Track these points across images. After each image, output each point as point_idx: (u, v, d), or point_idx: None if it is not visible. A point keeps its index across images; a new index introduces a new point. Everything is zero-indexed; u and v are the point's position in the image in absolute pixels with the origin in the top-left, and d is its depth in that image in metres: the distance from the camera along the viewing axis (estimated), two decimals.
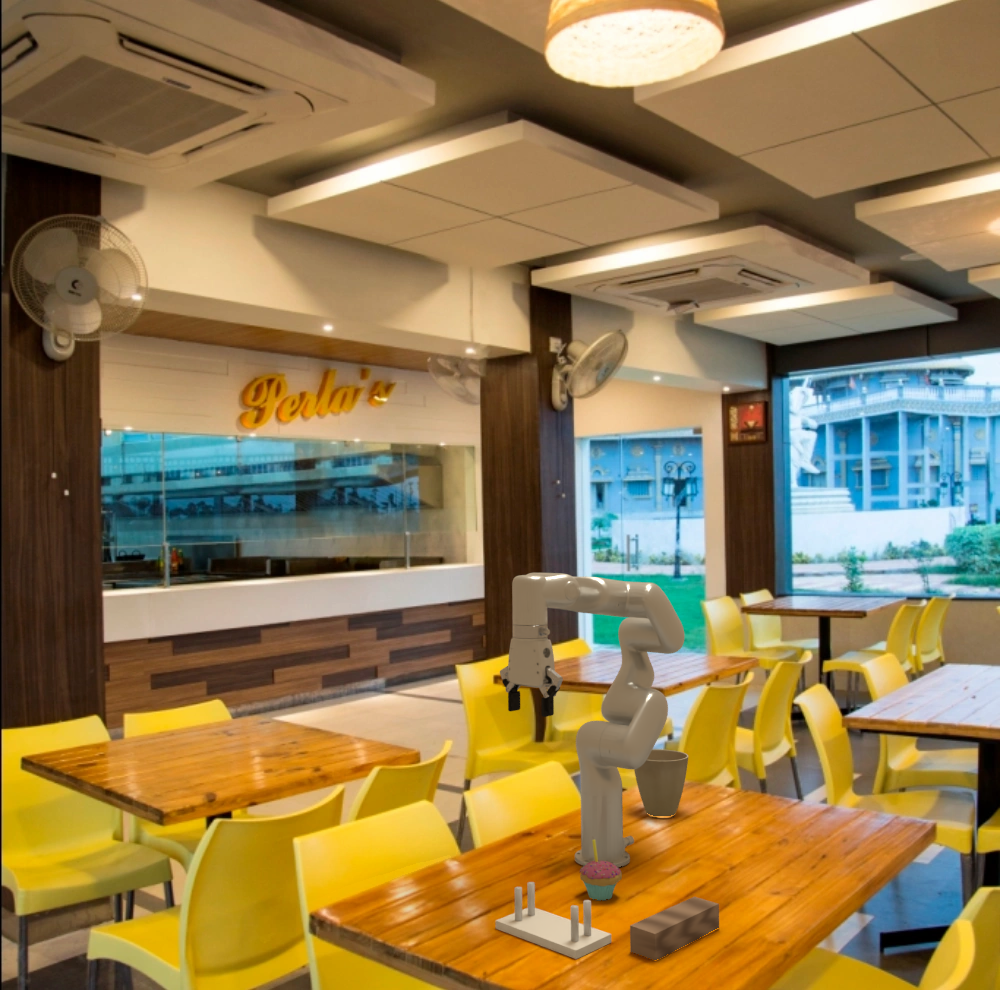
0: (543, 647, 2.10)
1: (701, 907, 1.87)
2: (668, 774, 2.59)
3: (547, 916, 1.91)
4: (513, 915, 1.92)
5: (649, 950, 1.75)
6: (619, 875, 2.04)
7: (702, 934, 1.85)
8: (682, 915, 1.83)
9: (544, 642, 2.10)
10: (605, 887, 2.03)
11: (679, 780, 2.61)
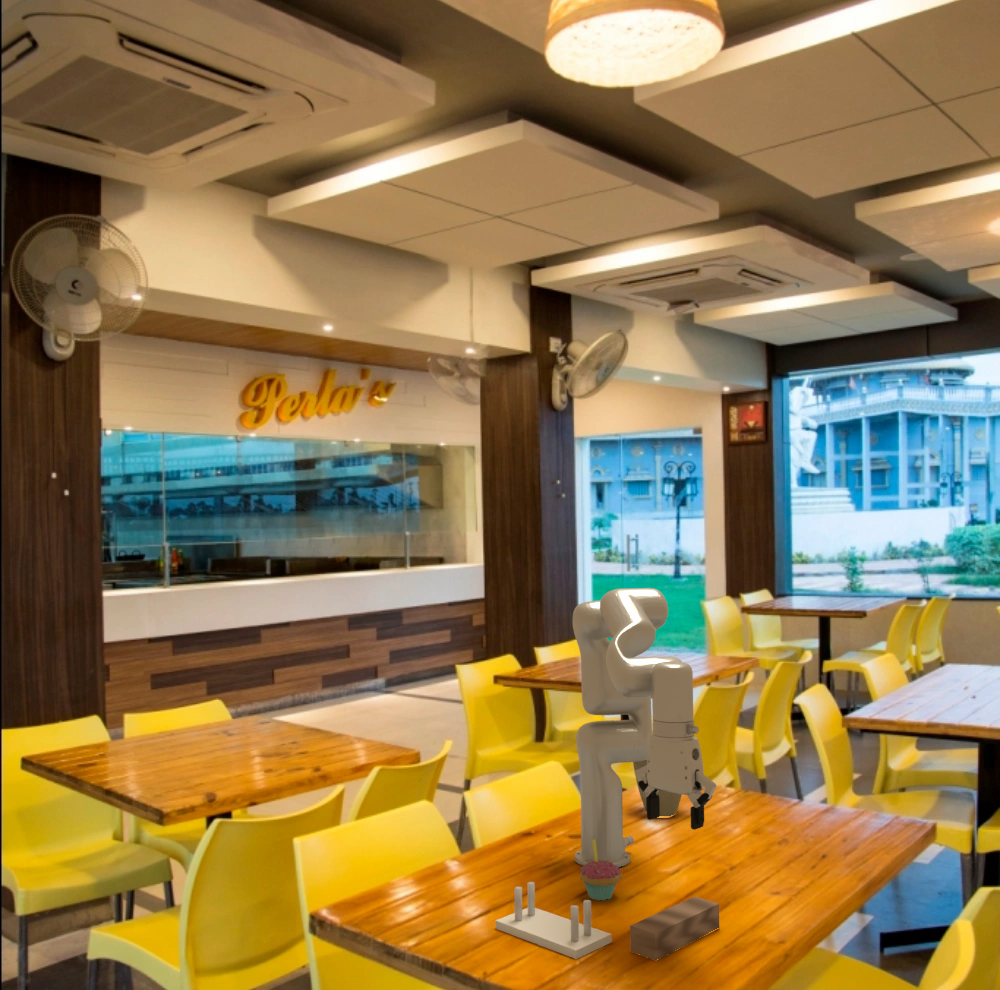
0: (691, 748, 1.81)
1: (701, 906, 1.87)
2: None
3: (547, 916, 1.91)
4: (513, 915, 1.92)
5: (649, 950, 1.76)
6: (619, 875, 2.04)
7: (702, 934, 1.85)
8: (682, 915, 1.83)
9: (692, 742, 1.82)
10: (605, 887, 2.03)
11: None
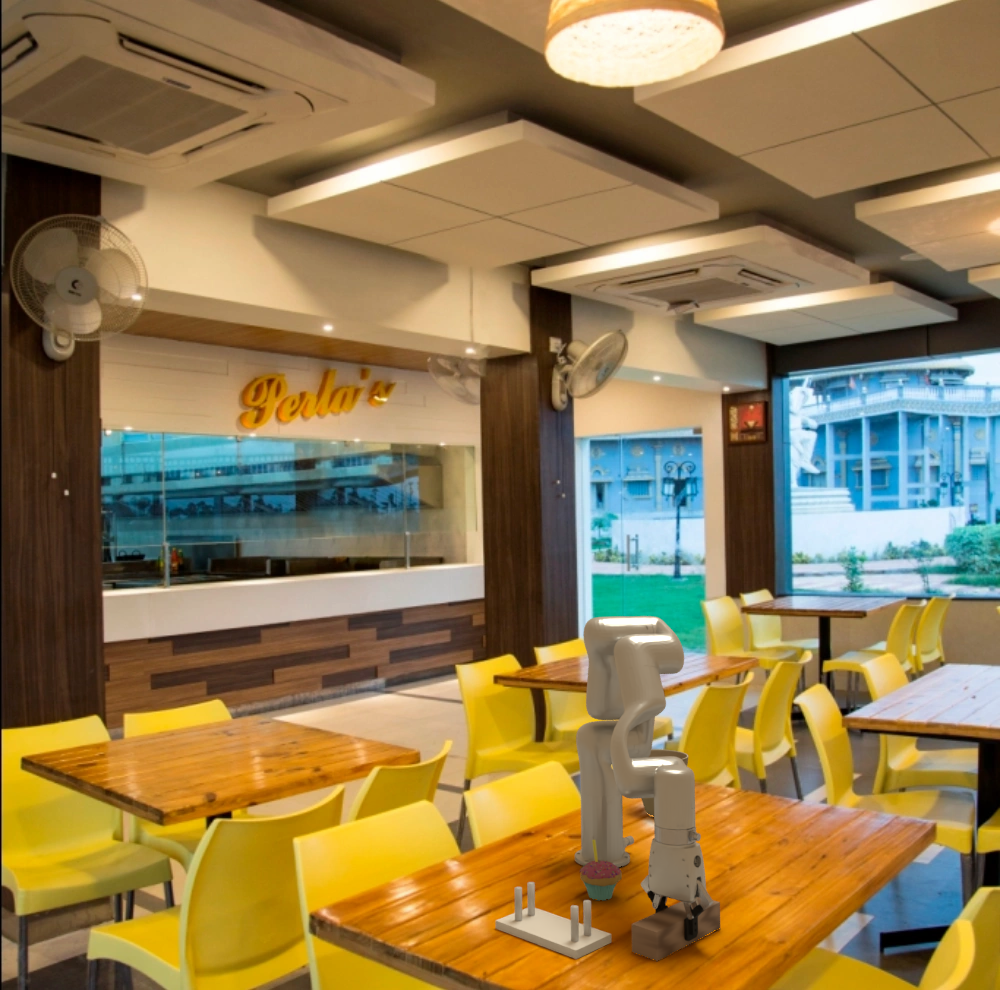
0: (693, 855, 1.80)
1: None
2: None
3: (547, 916, 1.91)
4: (513, 915, 1.92)
5: (651, 948, 1.75)
6: (619, 875, 2.04)
7: (703, 932, 1.85)
8: (683, 914, 1.83)
9: (694, 849, 1.81)
10: (605, 887, 2.03)
11: None
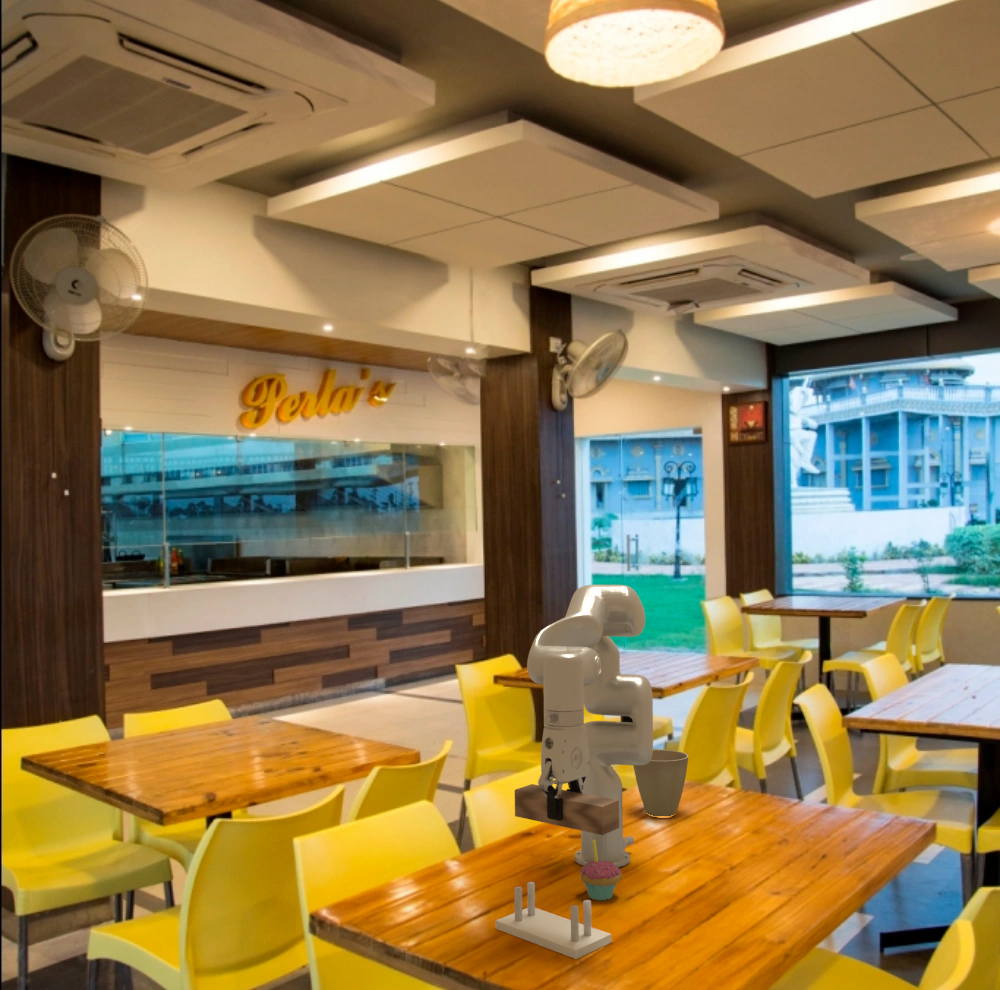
0: (546, 736, 1.84)
1: (589, 801, 1.82)
2: (668, 774, 2.59)
3: (547, 916, 1.91)
4: (513, 915, 1.92)
5: None
6: (619, 875, 2.04)
7: (577, 824, 1.82)
8: (562, 796, 1.86)
9: (548, 730, 1.84)
10: (605, 887, 2.03)
11: (679, 780, 2.61)
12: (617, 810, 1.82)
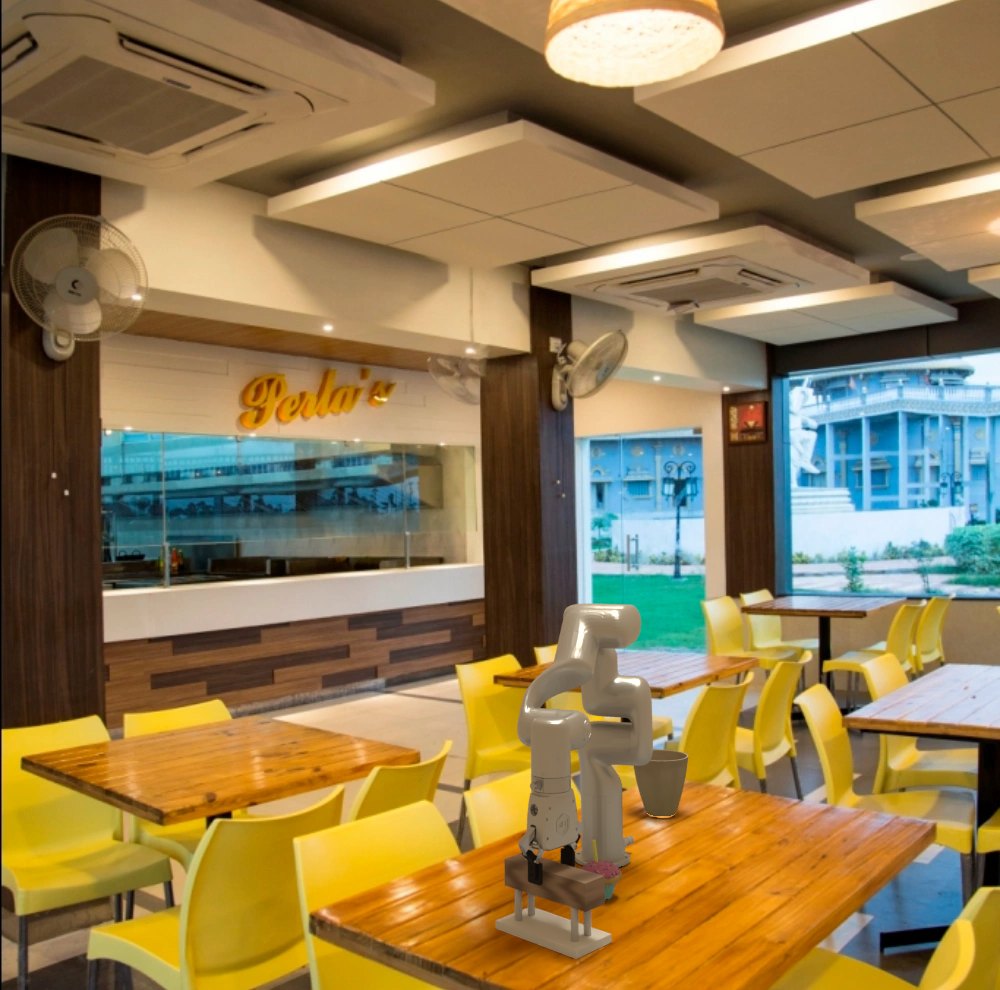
0: (531, 802, 1.84)
1: (574, 876, 1.81)
2: (668, 774, 2.59)
3: (547, 916, 1.91)
4: (513, 915, 1.92)
5: None
6: (619, 875, 2.04)
7: (562, 899, 1.81)
8: (549, 869, 1.86)
9: (534, 797, 1.84)
10: (605, 887, 2.03)
11: (679, 780, 2.61)
12: (603, 886, 1.81)
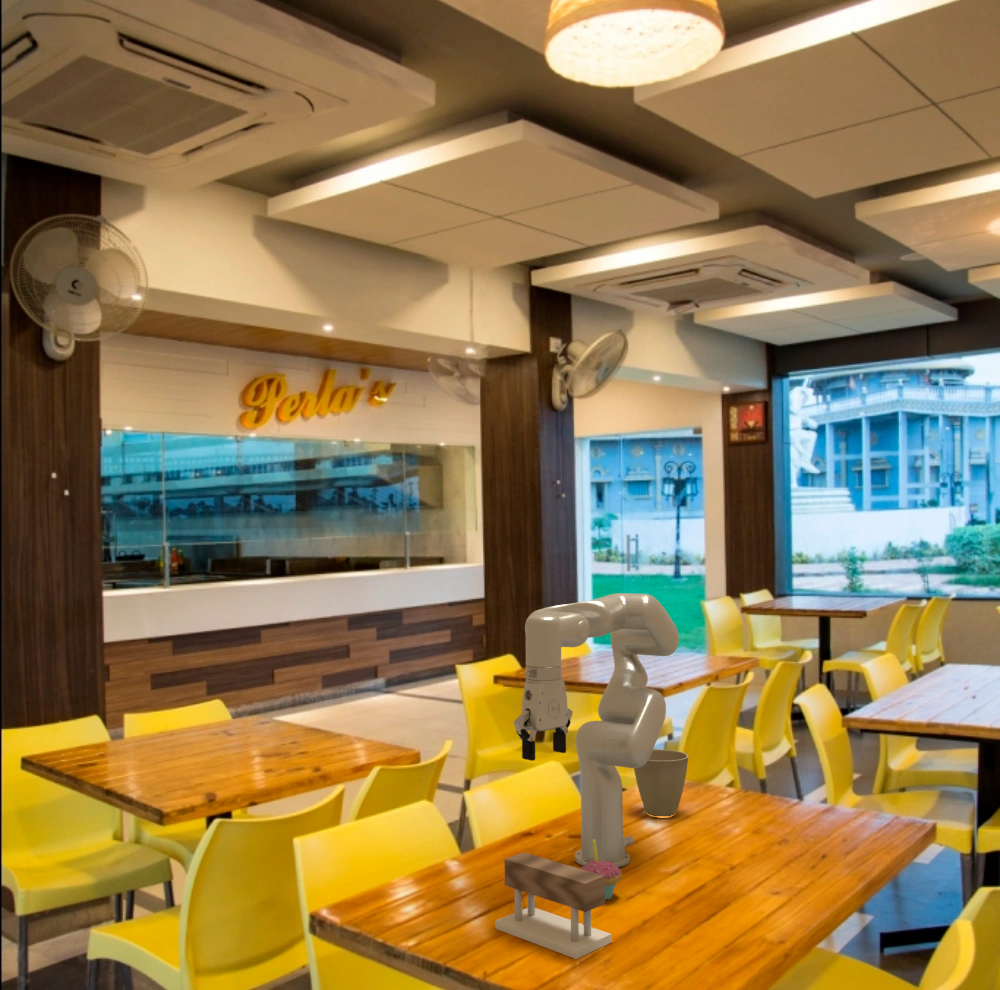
0: (526, 689, 2.08)
1: (574, 876, 1.81)
2: (668, 774, 2.59)
3: (547, 916, 1.91)
4: (513, 915, 1.92)
5: None
6: (619, 875, 2.04)
7: (562, 899, 1.81)
8: (549, 869, 1.86)
9: (528, 684, 2.08)
10: (605, 887, 2.03)
11: (679, 780, 2.61)
12: (603, 886, 1.81)
